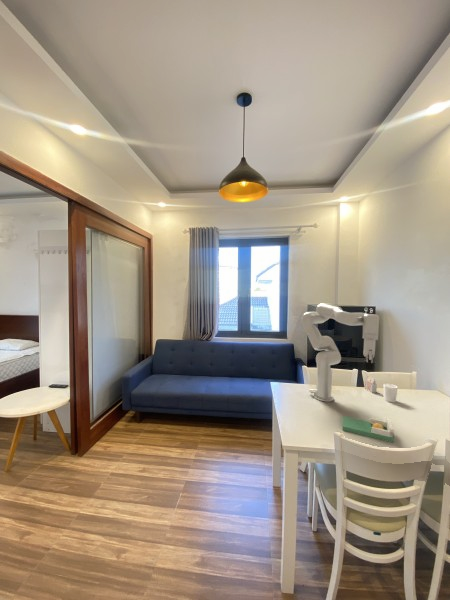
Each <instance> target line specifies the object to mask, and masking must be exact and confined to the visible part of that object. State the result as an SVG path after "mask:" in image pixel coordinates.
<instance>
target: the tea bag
mask: <svg viewBox="0 0 450 600" xmlns="http://www.w3.org/2000/svg"><path fill="white" fill-rule="evenodd" d="M364 386H365V388H364V389H365V390H366V389H367V390H366V391H368V390H369V391H370V393H371V392H372V393H371V394H375V393H377V390H378V389H377V388H378V387H377V386H378V385H377V382H376V379H375V378H374V377H372V376H369V375H368V376H367V378H366V380H365V385H364ZM369 391H368V392H369ZM373 392H374V393H373Z"/></svg>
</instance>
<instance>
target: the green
mask: <svg viewBox="0 0 450 600" xmlns="http://www.w3.org/2000/svg"><path fill="white" fill-rule="evenodd" d="M374 423H379V424H381V425H382V426H383V429H384V430H383V429H379V428H375V427H372V425H373V424H374ZM342 430H343V431H345V432H349V433H353V434H358V435H362V436H365V437H369V438H373V439H378V440H381V441H386V442H389V443H394V432H395V431H394V430H395V429H394V427H393V425H392V421H391V419H390V418H386V420H382V419H377V418H373V417H369V421H367V420H364V419H358V418H354V417H349V416H345V415H342Z"/></svg>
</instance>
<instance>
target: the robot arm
mask: <svg viewBox="0 0 450 600" xmlns="http://www.w3.org/2000/svg"><path fill="white" fill-rule="evenodd" d="M315 309H316V310H315V311H307V312H305V313H303V314H302V316H301V318H300V319H301V320H300V321H301V325H302V328H303V330H304V331H305V333H306V335H307V338H308V339H309V342H310V344H311V346H312V348H313V349H314V350H315V351H320V352H318V353H317V354H316V355H315V356H316V357H315V363H316V388H315V389H312V388H309V393H311V394H313V398H314V399H316V400H318V401H319V402H327V403H329V402H333V401H334V399H335V398H334V396H333V395H332V392H333V391H332V389H333V388H332V387H333V371H332V368H331V366H334V365H338V364H339V363H341V361H342V356H341V355H342V354H341V353H340V350H339V348H338V347H337V345H336V343H335V341H334V339H333V338H332V337H330V336H328V335H323V334H321V331H320V330H319V328H318V327H317V326H316V325H317V324H323V323H325V322H326V321H328V320H329V319H333V320H335V321H336V322H338V323H340V324H343V325H345V326H352V327H353V326H355V327H356V326H362V339H363V351H362V353H363V356H364V357H365V360H364V361H365V364H364V367H365V370H368V371H372V370H373V367H374V365H373V364H374V363H373V359H374V358H375V353H376V341H378V340H379V325H380V316H379V315H378V314H373V313H366V312H360V311H359V312H348V311H345V310H343V308H342V307H341V306H338V305H336V304H334V303H332V302H331V303H329V302H328V303H327V302H326V303H324V302H322V303H319V304H318V305H317V306H316V308H315ZM314 324H315V325H314Z"/></svg>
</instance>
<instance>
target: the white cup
mask: <svg viewBox="0 0 450 600" xmlns="http://www.w3.org/2000/svg"><path fill="white" fill-rule="evenodd" d="M382 389H383V400H384V401H385V402H388V403H394V404H395V403H396V402H397V401H396V400H397V395H398V386H397V385H395V384H392V383H383V388H382Z"/></svg>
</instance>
